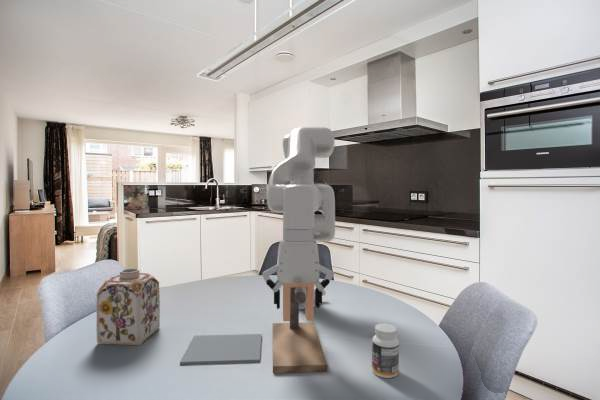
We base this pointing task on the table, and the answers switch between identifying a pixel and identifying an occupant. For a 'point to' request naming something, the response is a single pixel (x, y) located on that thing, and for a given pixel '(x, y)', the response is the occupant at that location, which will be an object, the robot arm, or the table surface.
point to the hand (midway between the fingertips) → (297, 306)
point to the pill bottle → (385, 351)
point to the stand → (297, 342)
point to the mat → (223, 349)
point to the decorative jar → (128, 308)
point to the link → (308, 303)
